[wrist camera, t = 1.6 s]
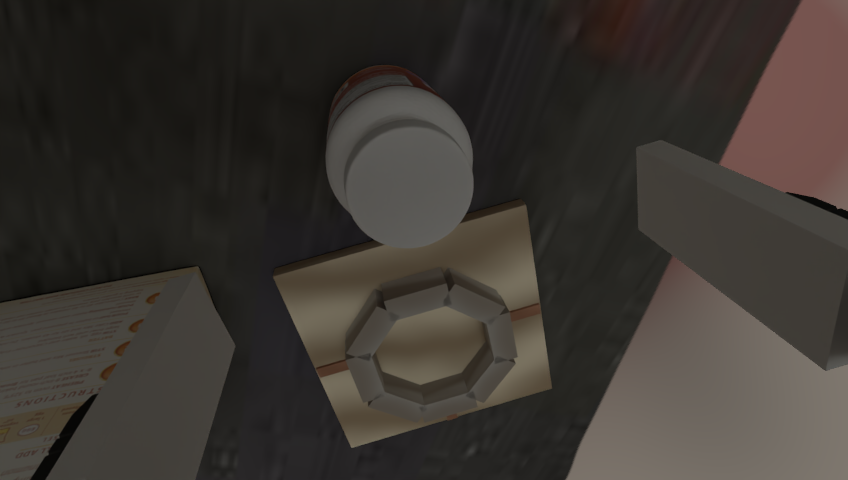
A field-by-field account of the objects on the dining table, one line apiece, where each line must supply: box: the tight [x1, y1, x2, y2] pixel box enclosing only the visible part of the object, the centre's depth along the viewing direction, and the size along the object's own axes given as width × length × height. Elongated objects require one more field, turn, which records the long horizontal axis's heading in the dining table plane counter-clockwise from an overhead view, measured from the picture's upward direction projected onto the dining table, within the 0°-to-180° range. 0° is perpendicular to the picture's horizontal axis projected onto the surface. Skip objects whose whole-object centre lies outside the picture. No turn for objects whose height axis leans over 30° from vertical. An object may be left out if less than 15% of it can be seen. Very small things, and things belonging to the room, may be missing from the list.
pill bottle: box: [325, 65, 473, 248], centre depth 22 cm, size 6×6×11 cm
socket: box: [273, 199, 552, 448], centre depth 33 cm, size 16×16×3 cm
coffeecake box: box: [0, 266, 213, 480], centre depth 22 cm, size 15×7×20 cm, turn 98°
